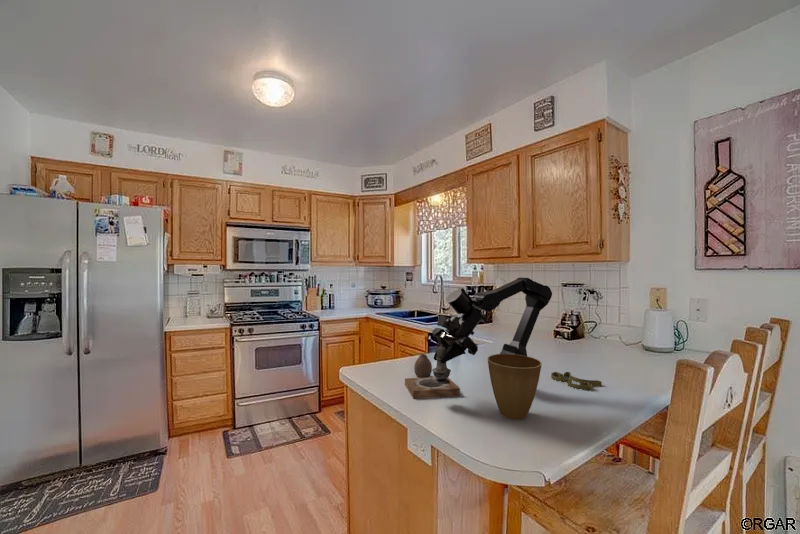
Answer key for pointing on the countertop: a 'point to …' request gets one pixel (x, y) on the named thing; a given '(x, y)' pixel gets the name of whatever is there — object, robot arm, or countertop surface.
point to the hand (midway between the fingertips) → (437, 361)
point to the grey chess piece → (441, 368)
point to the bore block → (430, 388)
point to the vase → (423, 366)
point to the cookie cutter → (583, 383)
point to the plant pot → (514, 383)
